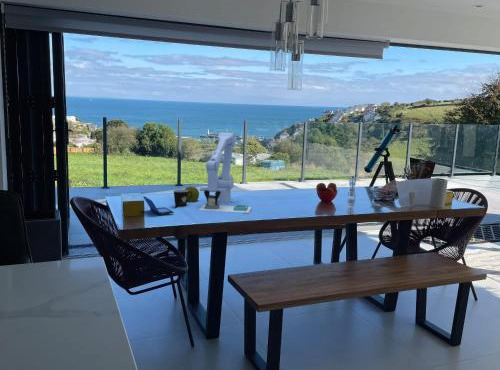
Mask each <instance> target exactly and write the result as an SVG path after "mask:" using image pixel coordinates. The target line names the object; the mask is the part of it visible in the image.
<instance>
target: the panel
mask: <svg viewBox="0 0 500 370" xmlns="http://www.w3.org/2000/svg"><path fill="white" fill-rule="evenodd" d="M252 209H253V208H252V207H251V206H249V205H247V204H235V205H221V203H217V204H216V206H208V203H206V204H203V205H202V206H201V207H200V208H199V209H198V210H199V211H214V212H227V213H228V212H229V213H231V212H232V213H243V215H249V214H250V212H252Z"/></svg>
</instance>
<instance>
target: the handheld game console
mask: <svg viewBox="0 0 500 370" xmlns="http://www.w3.org/2000/svg"><path fill="white" fill-rule="evenodd" d="M143 199H144V200H145V202H146V203H147V205H148V207H149V208H150V209H149V211H150V212H152V213H154V214H155V215H156V216H158V217H161V216H171V215H174V214H175V212H174V211H172V210H171V209H169V208H167V207H156V205H155V203H154V202H153V200H152V199H150V198H148V197H146V196H143Z"/></svg>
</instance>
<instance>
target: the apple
mask: <svg viewBox="0 0 500 370" xmlns="http://www.w3.org/2000/svg"><path fill="white" fill-rule="evenodd" d="M184 190H188V192H192V197H191V193H188V197H187V200H188V199H189V198H190V197H191V198H190V199H189V200H188V201H187V203H194V202H195V203H196V202H198V199H199V197H200V190H198V188H197V187H196V186H187V187H185V188H184Z"/></svg>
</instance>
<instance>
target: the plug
mask: <svg viewBox="0 0 500 370" xmlns="http://www.w3.org/2000/svg"><path fill="white" fill-rule="evenodd" d="M208 206H216V204H215V194H213V195H212V194H210V195H209V196H208Z"/></svg>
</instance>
